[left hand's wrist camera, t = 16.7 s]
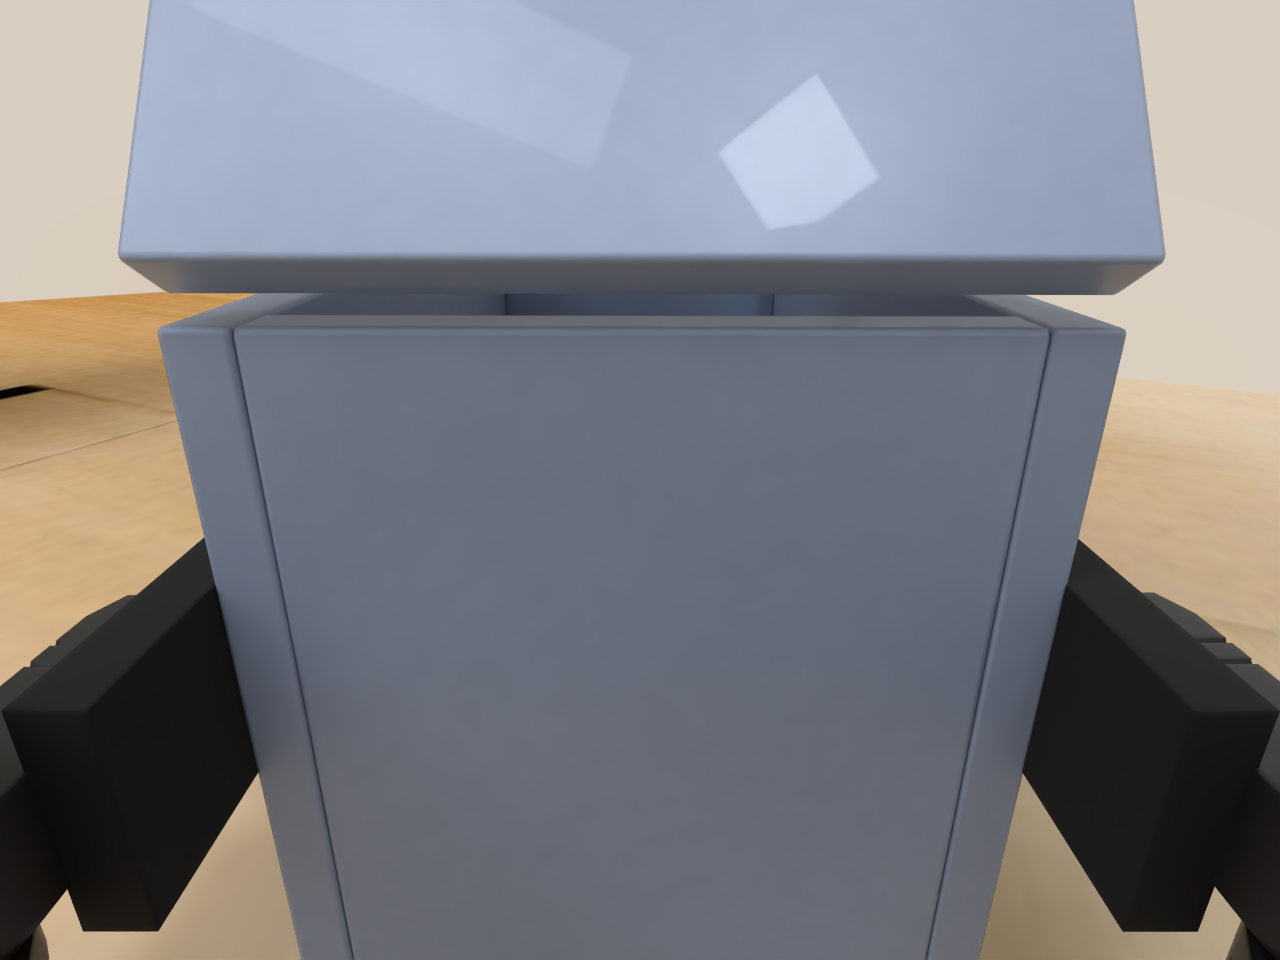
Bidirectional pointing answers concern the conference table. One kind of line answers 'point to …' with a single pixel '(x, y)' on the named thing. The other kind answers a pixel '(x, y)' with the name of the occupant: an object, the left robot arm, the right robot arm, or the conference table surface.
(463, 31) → the lid
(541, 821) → the chest
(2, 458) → the conference table surface
